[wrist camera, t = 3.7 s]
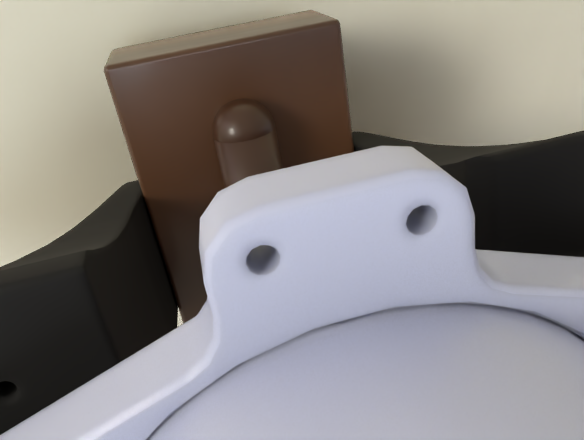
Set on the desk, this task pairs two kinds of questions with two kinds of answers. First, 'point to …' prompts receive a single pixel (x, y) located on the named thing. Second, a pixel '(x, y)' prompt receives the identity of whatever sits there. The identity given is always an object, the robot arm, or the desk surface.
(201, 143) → the brown block with peg
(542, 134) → the desk surface
